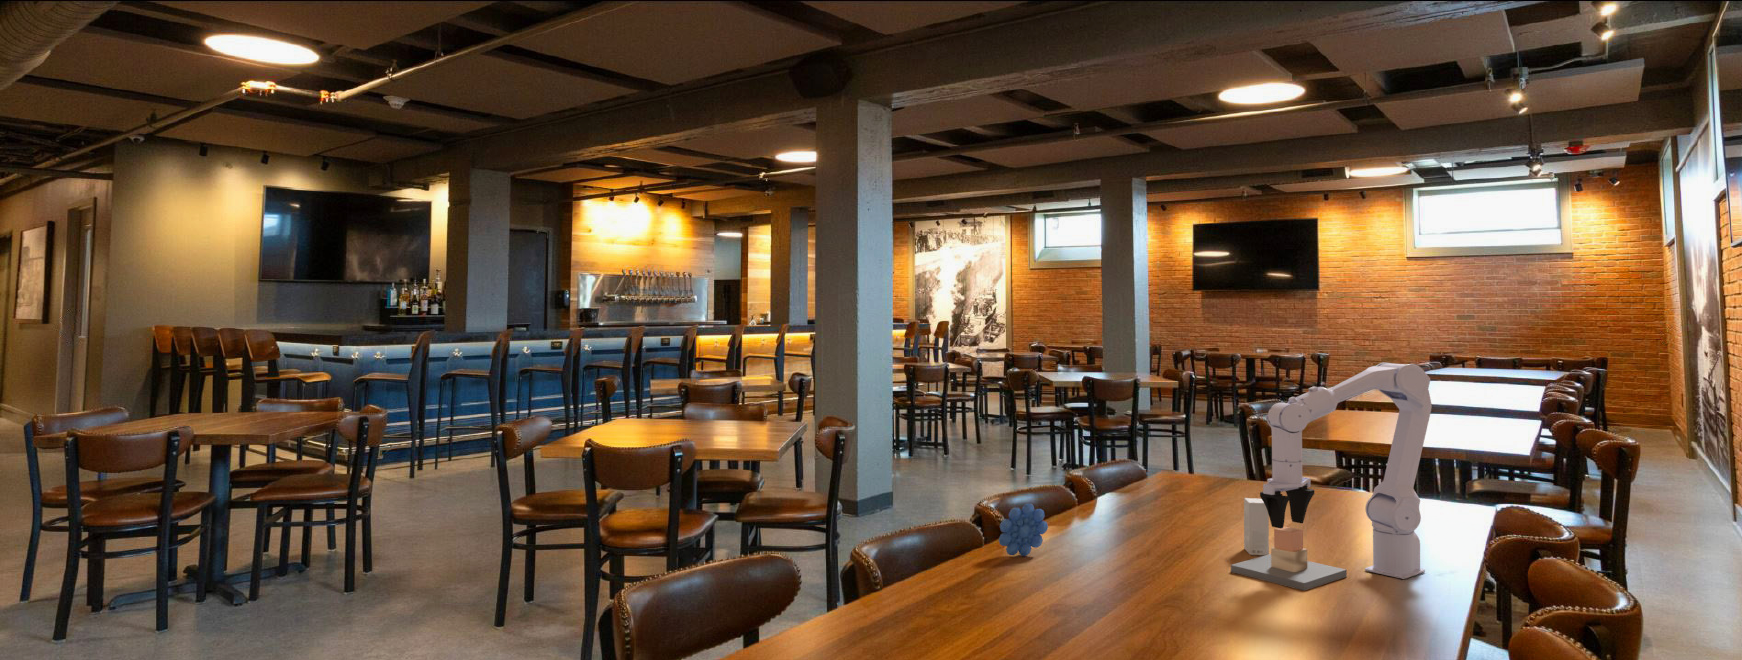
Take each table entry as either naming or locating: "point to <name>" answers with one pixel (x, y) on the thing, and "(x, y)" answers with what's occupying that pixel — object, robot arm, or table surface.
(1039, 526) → the blue bead flower
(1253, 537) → the skincare box
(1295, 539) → the terracotta cube
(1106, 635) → the table surface
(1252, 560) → the base board
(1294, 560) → the birch block
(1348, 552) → the table surface
